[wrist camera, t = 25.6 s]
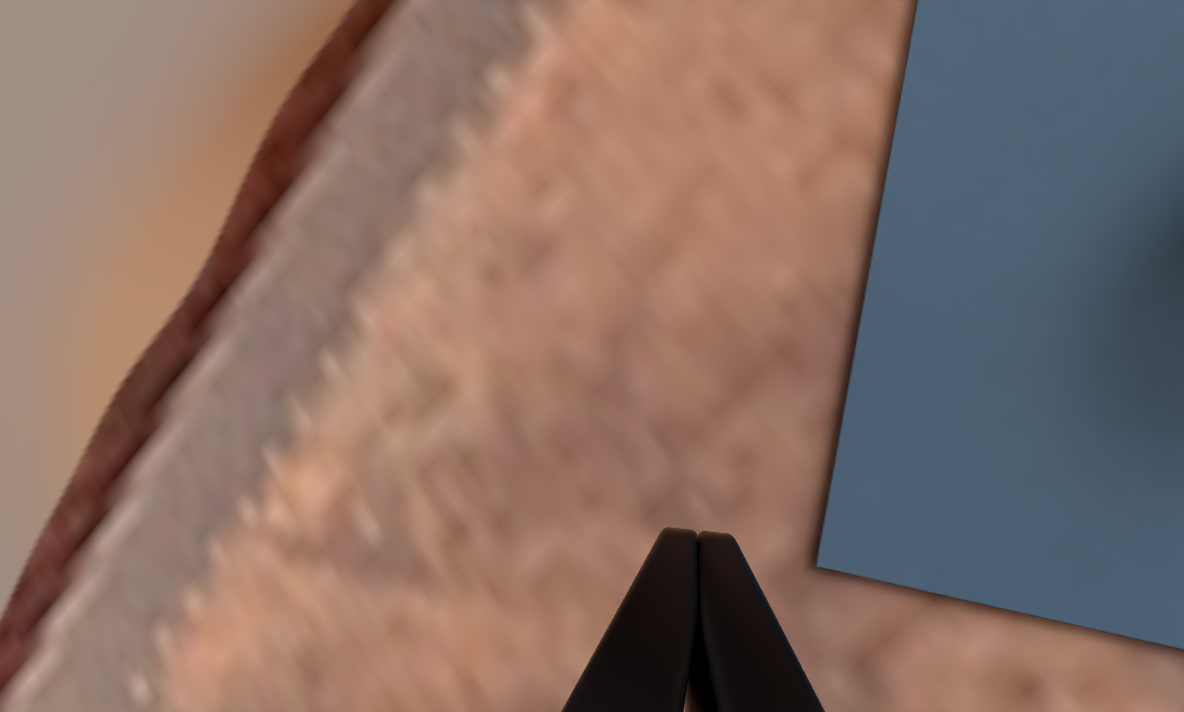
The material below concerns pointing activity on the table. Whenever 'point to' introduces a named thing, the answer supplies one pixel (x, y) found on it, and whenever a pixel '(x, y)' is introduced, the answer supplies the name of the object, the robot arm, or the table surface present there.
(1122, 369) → the slate mat
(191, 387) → the table surface
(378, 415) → the table surface
